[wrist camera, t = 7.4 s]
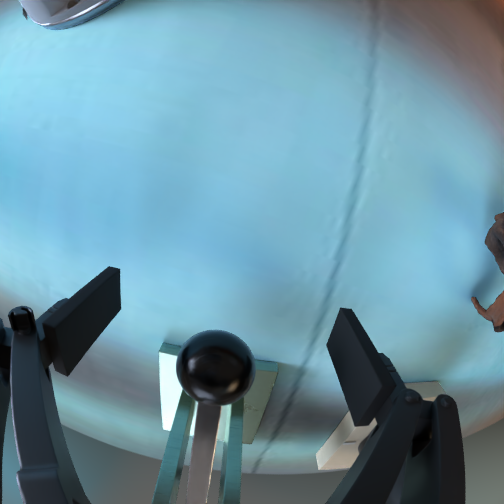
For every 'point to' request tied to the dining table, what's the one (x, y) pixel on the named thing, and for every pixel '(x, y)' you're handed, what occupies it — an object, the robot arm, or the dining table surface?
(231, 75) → the dining table surface
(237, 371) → the tap lever
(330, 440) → the panel
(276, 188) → the dining table surface
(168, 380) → the grey metal lever stand
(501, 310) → the broken clay pot
